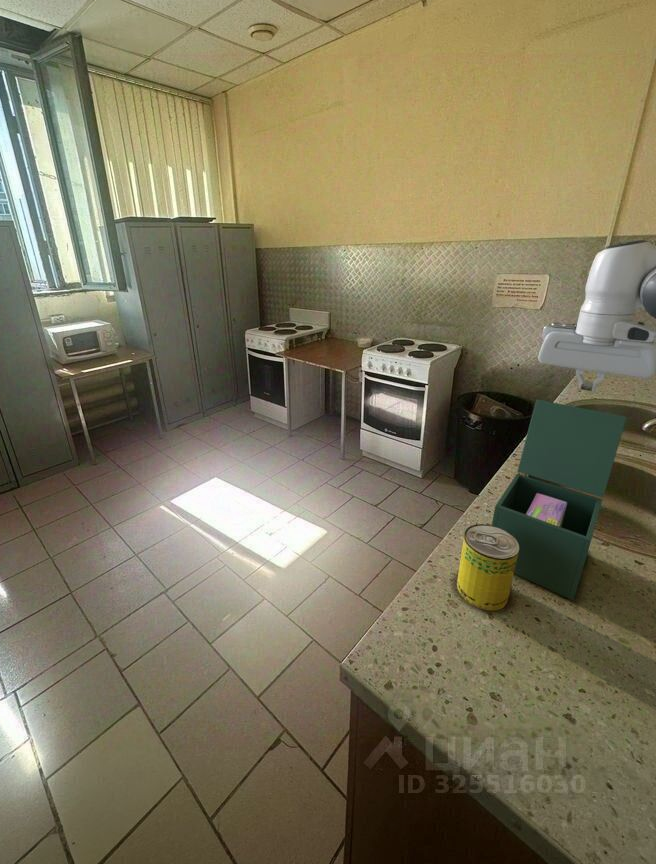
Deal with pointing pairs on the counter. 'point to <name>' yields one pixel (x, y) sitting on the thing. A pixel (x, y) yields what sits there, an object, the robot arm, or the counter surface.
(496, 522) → the chest
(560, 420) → the lid
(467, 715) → the counter surface
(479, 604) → the yellow tin can
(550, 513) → the box
